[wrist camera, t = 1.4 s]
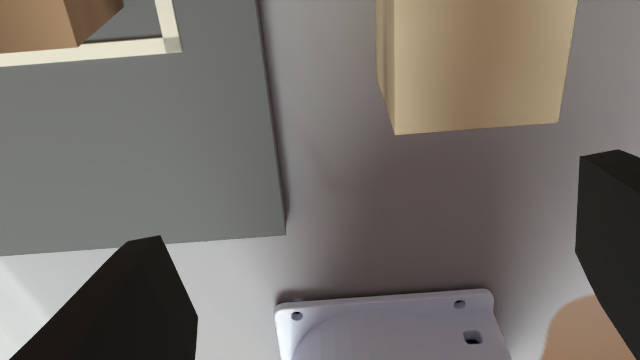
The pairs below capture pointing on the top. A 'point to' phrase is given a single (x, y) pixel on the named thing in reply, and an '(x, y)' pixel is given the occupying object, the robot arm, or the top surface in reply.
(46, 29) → the walnut block
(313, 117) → the top surface
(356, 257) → the top surface
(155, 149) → the gray mat
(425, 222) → the top surface
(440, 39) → the maple cube
